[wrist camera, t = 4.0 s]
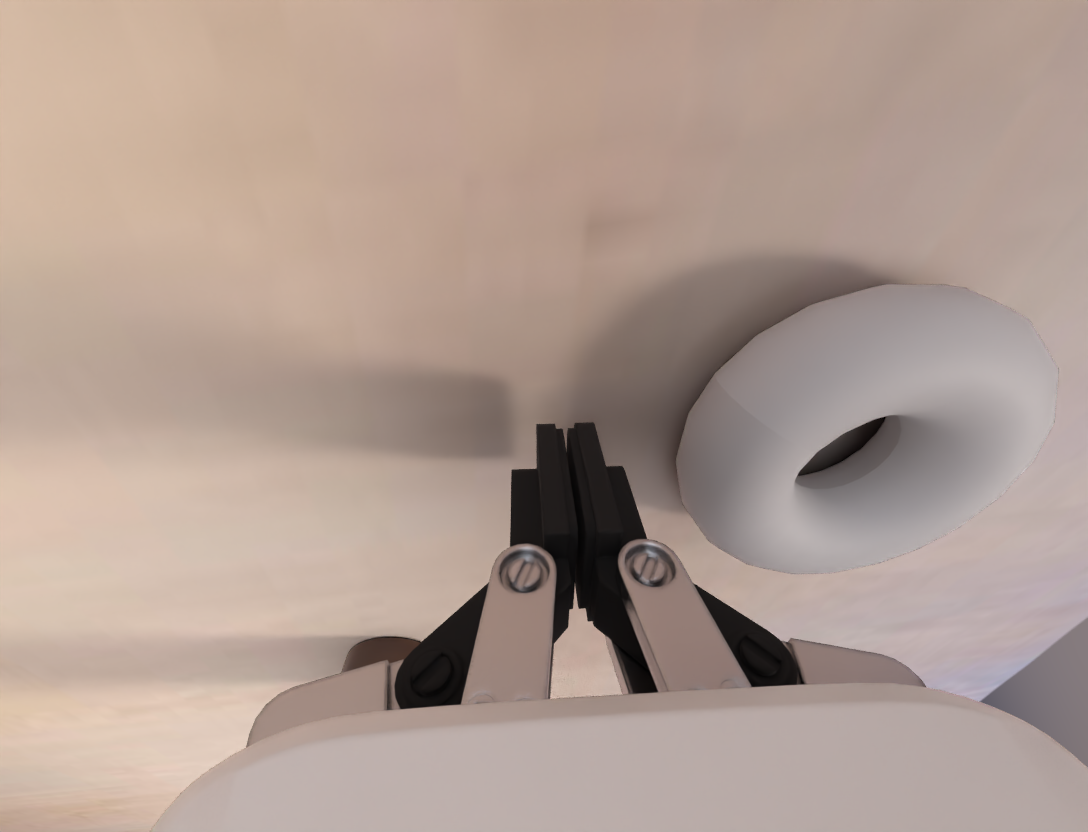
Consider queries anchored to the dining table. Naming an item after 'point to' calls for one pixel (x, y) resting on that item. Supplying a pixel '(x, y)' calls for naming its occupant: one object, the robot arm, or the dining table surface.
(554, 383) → the dining table surface
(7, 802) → the dining table surface
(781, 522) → the donut
